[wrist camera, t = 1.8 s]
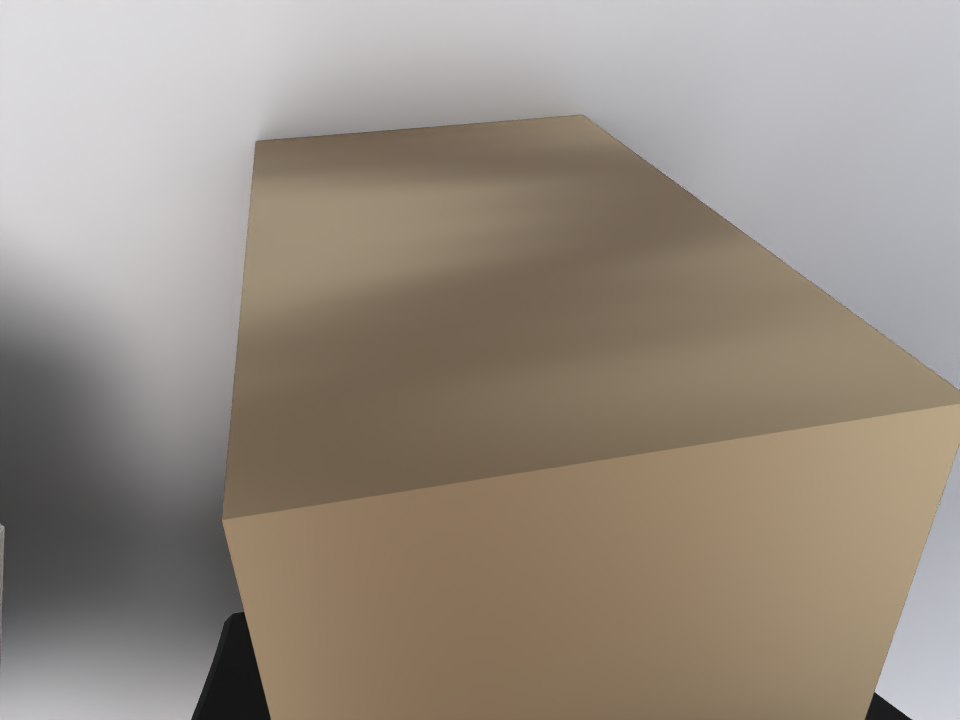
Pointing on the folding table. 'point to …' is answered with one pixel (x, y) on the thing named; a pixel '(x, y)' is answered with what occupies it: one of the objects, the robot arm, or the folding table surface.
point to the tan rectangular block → (558, 443)
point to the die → (1, 575)
